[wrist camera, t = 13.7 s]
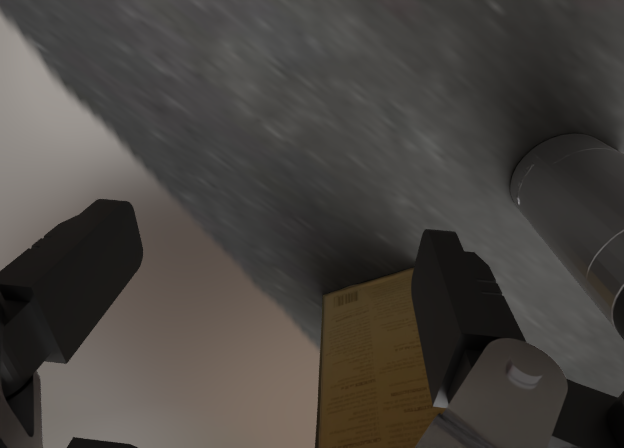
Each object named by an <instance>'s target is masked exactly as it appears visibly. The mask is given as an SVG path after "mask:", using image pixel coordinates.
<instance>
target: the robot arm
mask: <svg viewBox="0 0 624 448" xmlns="http://www.w3.org/2000/svg"><path fill="white" fill-rule="evenodd" d="M510 193H511V196H512V200H513V201H514V203H515V205H516V206H517V207H518V209H519V210H520V211H521V212H522V214H523V215H524V216H525V217H526V219H527V220H528V221H529V222H530V224H531V225H532V226H533V228H534V229H535V230H536V231H537V233H538V234H539V235H540V236H541V238H542V239H543V240H544V241H545V242H546V244H547V245H548V246H549V247H550V249H551V250H552V251H553V252H554V254H555V255H556V256H557V257H558V259H559V260H560V261H561V262H562V263H563V265H564V266H565V267H566V268H567V270H568V271H569V272H570V273H571V275H572V276H573V277H574V278H575V280H576V281H577V282H578V283H579V285H580V286H581V287H582V288H583V289H584V291H585V292H586V293H587V294H588V296H589V297H590V298H591V299H592V300H593V302H594V303H595V304H596V305H597V307H598V308H599V309H600V310H601V312H602V313H603V314H604V315H605V316H606V318H607V319H608V320H609V321H610V323H611V324H612V325H613V326H614V328H615V329H616V330H617V331H618V333H619V334H620V335H621V337H622V338H623V339H624V154H622V153H621V152H619V151H617V150H615V149H614V148H612V147H610V146H608V145H607V144H605V143H603V142H601V141H600V140H598V139H596V138H595V137H592V136H589V135H585V134H575V133H573V134H565V135H560V136H557V137H554V138H551V139H549V140H547V141H545V142H543V143H541V144H539V145H538V146H536V147H535V148H533V149H532V150H531V151H530V152H529V153H528V154H527V155H525V156H524V157H523V159H522V160H521V161H520V163H519V164H518V165H517V167H516V169H515V171H514V173H513V175H512V179H511V184H510ZM142 258H143V247H142V242H141V238H140V234H139V229H138V225H137V221H136V217H135V212H134V209H133V207H132V205H131V204H130V203H129V202H127V201H117V200H107V199H98V200H96V201H95V202H94V203H92V204H91V205H90V206H89V207H88V208H86V209H85V210H84V211H83V212H82V213H80V214H79V215H77V216H75V217H73V218H71V219H69V220H66V221H64V222H62V223H60V224H58V225H57V226H56V227H55V228H53V229H52V230H51V231H50V232H48V233H47V234H46V235H45V236H44V238H43V239H42V238H41V239H40V240H38V241H37V242H36V243H35V244H33V245H32V248H31V249H27V250H26V251H25V252H23V254H21V255H20V256H19V257H17V258H16V259H15V260H14V261H12V262H11V263H10V264H9V265H7V266H6V267H5V268H4V269H2V270H1V271H0V448H43V441H42V440H43V437H42V407H41V380H40V376H39V374H38V372H37V369H38V368H39V367H40V365H41V364H42V363H43V362H44V361H47V362H56V363H64V364H66V363H67V362H68V361H69V360H70V358H71V357H72V356H73V355H74V353H75V352H76V351H77V349H78V348H79V347H80V345H81V344H82V343H83V341H84V340H85V339H86V337H87V336H88V335H89V334H90V332H91V331H92V329H93V328H94V327H95V326H96V324H97V323H98V321H99V320H100V319H101V318H102V316H103V315H104V314H105V312H106V311H107V310H108V308H109V307H110V306H111V305H112V303H113V302H114V301H115V299H116V298H117V297H118V295H119V294H120V293H121V291H122V290H123V289H124V287H125V286H126V285H127V283H128V282H129V281H130V279H131V278H132V277H133V275H134V274H135V273H136V272H137V270H138V269H139V267H140V265H141V261H142ZM411 296H412V302H413V307H414V312H415V317H416V322H417V328H418V333H419V338H420V343H421V348H422V353H423V358H424V364H425V369H426V374H427V379H428V384H429V389H430V394H431V400H432V405H433V407H441V408H446V409H445V411H444V412H443V413H442V414H441V413H439V414H438V415H437V416H436V417H435V418H434V420H433V421H432V422H431V424H430V425H429V427H428V428H427V430H426V431H425V433H424V434H423V436H422V437H421V439H420V440H419V442H418V443H417V445H416V446H415V448H624V391H623V392H622V394H621V395H620V396H619V397H618V398H617V397H614V396H611V395H609V394H606V393H603V392H600V391H597V390H595V389H592V388H589V387H586V386H584V385H581V384H578V383H575V382H573V381H570V380H568V379H566V377H565V375H564V373H563V371H562V369H561V368H560V367H559V365H558V364H557V363H556V362H555V361H554V360H553V359H552V358H551V357H550V356H549V355H548V354H546V353H545V352H544V351H542V350H541V349H539V348H537V347H536V346H534V345H531V344H529V343H527V342H526V340H525V338H524V336H523V334H522V332H521V330H520V328H519V326H518V324H517V322H516V320H515V318H514V316H513V314H512V312H511V310H510V308H509V306H508V304H507V302H506V300H505V298H504V296H502V292H501V290H500V288H499V286H498V284H497V283H496V280H495V278H494V276H493V274H492V271H491V269H490V267H489V266H488V265H487V264H486V263H485V262H484V261H483V260H482V259H481V258H480V257H479V256H478V255H477V254H475V253H474V252H465V251H464V250H463V248H462V245H461V243H460V241H459V238H458V236H457V234H456V233H455V232H452V231H441V230H430V229H426V230H425V231H424V232H423V235H422V238H421V242H420V246H419V250H418V254H417V258H416V262H415V266H414V270H413V274H412V281H411ZM67 448H137V447H135V446H133V445H131V444H124V443H115V442H107V441H99V440H90V439H83V438H75V437H73V439H72V440H71V442H70V443H69V445H68V447H67Z"/></svg>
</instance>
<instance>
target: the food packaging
mask: <svg viewBox="0 0 624 448" xmlns="http://www.w3.org/2000/svg"><path fill="white" fill-rule="evenodd" d="M413 270H414V268H410V269H407V270H404V271H400V272H397V273H394V274H391V275H387V276H384V277H381V278H378V279H374V280H371V281H367V282H364V283H361V284H357V285H352V286H349V287H346V288H343V289H340V290H337V291H334V292H331V293H329V294H326V295H323V302H322V327H321V346H320V366H319V387H318V409H317V410H318V411H317V425H316V440H315V441H316V442H315V448H415V446H416V445H417V443H418V442H419V440H420V439H421V437H422V436H423V434H424V433H425V431H426V430H427V428H428V427H429V425H430V424H431V422H432V421H433V420H434V418H435V417H436V416H437V415H438V414H439V413H441V414H442V413H443V412H444V411H445V409H446V408H441V407H433V405H432V400H431V394H430V389H429V384H428V379H427V374H426V369H425V364H424V358H423V353H422V348H421V343H420V338H419V333H418V328H417V322H416V317H415V312H414V307H413V302H412V296H411V281H412V274H413Z"/></svg>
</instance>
